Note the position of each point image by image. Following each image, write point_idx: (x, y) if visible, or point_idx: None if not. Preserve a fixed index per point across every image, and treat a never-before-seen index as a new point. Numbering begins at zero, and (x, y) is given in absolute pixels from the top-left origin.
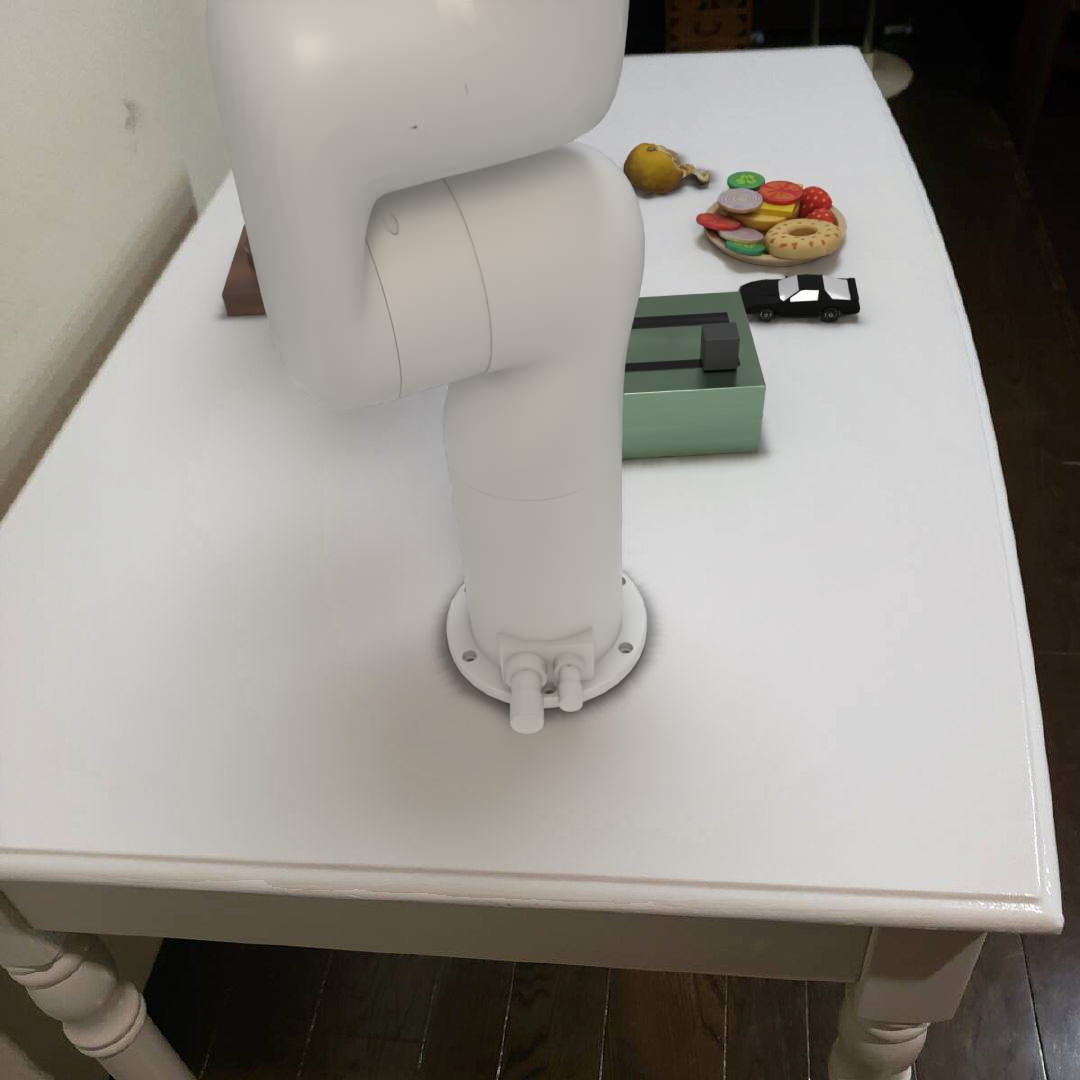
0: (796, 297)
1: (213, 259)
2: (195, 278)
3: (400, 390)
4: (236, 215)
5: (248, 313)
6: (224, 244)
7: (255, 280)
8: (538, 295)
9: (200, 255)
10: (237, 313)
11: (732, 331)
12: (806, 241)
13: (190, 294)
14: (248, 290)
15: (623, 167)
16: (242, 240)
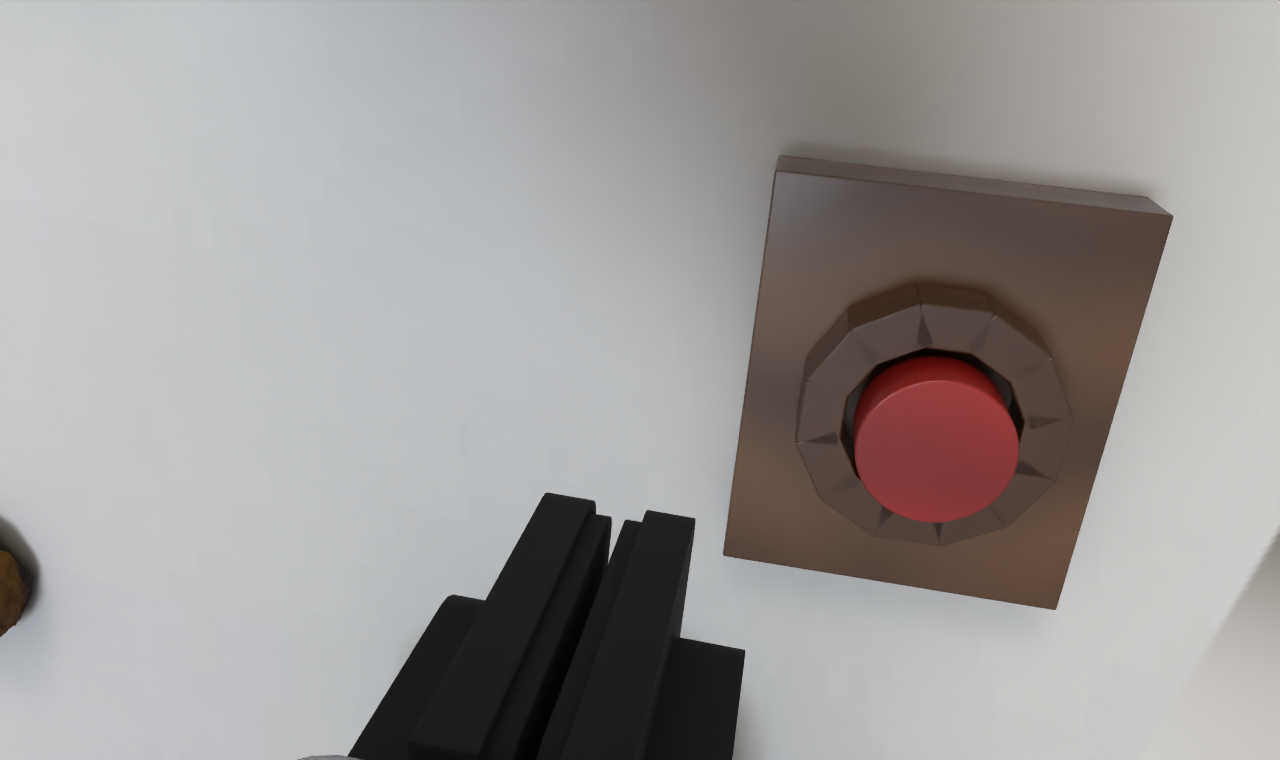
0: None
1: (1162, 525)
2: (1232, 438)
3: None
4: (1067, 728)
5: (1078, 190)
6: (1118, 594)
7: (1045, 276)
8: None
9: (1201, 557)
10: (1115, 195)
11: None
12: None
13: (1260, 352)
14: (1075, 219)
15: (3, 604)
16: (1069, 521)
